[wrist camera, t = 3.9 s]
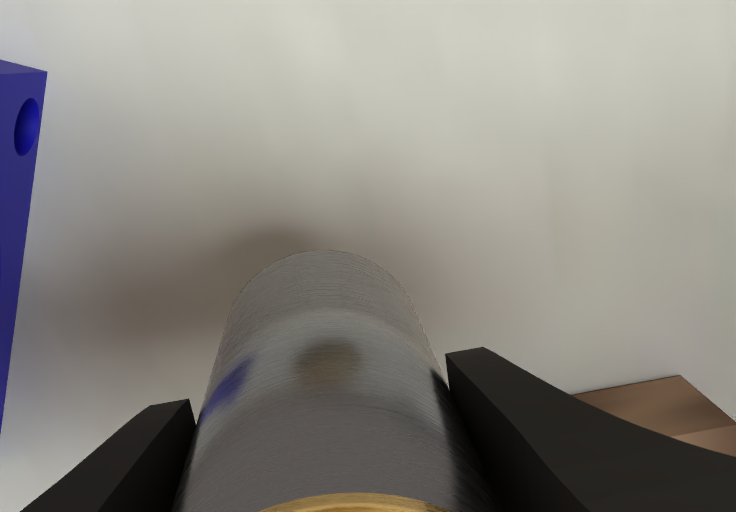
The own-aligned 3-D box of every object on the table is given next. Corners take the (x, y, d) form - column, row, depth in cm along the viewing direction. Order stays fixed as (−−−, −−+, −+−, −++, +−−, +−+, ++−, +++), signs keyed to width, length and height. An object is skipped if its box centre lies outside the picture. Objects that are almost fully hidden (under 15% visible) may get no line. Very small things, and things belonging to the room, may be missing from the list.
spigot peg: (405, 234, 13) (547, 482, 5) (429, 410, 14) (573, 816, 7) (205, 268, 13) (59, 574, 5) (246, 443, 14) (177, 901, 6)
